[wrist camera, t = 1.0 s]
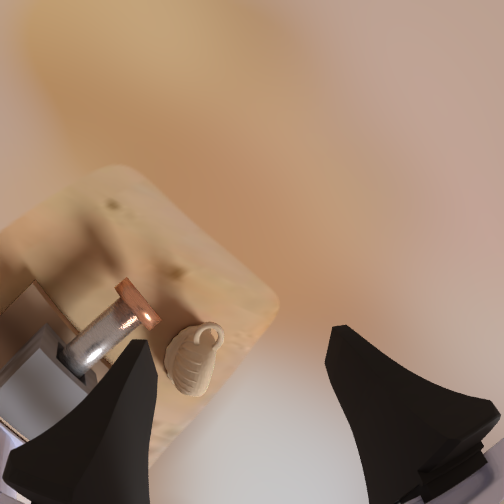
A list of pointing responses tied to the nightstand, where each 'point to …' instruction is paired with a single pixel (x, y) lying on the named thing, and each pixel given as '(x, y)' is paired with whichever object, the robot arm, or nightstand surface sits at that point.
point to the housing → (39, 365)
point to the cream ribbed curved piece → (193, 358)
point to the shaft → (108, 329)
